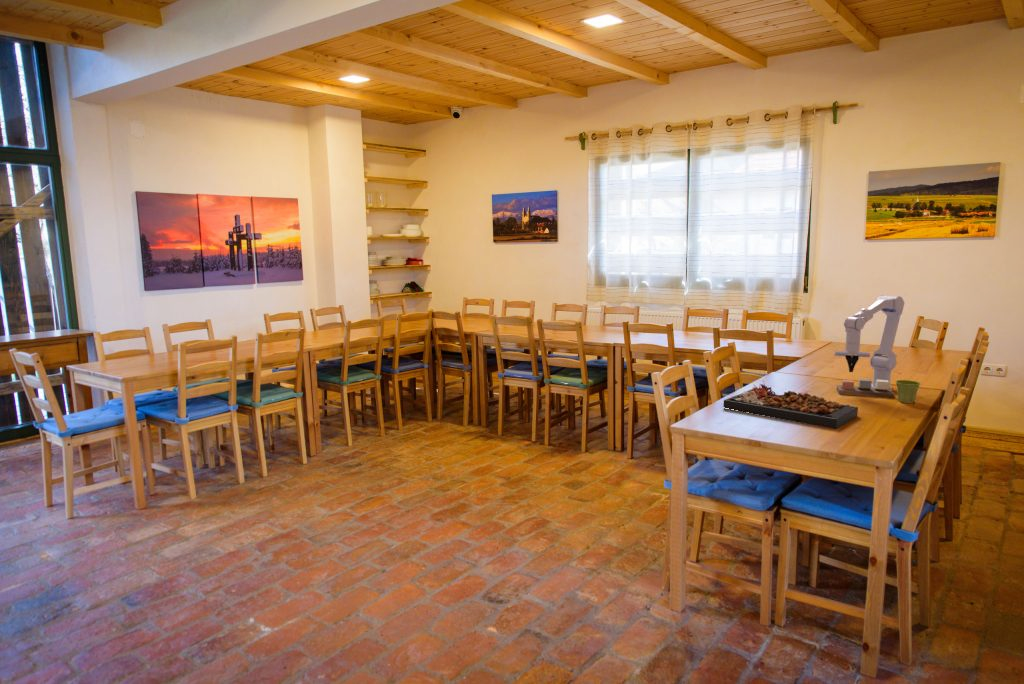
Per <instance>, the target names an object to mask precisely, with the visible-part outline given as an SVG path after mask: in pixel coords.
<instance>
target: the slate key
mask: <svg viewBox="0 0 1024 684" xmlns="http://www.w3.org/2000/svg"><path fill="white" fill-rule="evenodd" d="M872 383H873V380H871V378H858V387H859V388H870V389H871V387H872V386H871V384H872Z"/></svg>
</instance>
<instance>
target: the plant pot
mask: <svg viewBox="0 0 1024 684" xmlns="http://www.w3.org/2000/svg"><path fill="white" fill-rule="evenodd" d="M895 383H896V384H895V385H896V391H897V400H898V402H900V403H901V402H903V403H905V404H913V403H915V402H916V397H917V393H918V390H919V388H920V386H921V384H922V383H921V382H919V381H917V380H910V379H909V380H907V379H898V380H895Z"/></svg>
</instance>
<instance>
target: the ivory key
mask: <svg viewBox="0 0 1024 684" xmlns="http://www.w3.org/2000/svg"><path fill="white" fill-rule="evenodd" d="M876 388H877V389H886V390H889V381H888V380H877V379H876Z"/></svg>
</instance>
